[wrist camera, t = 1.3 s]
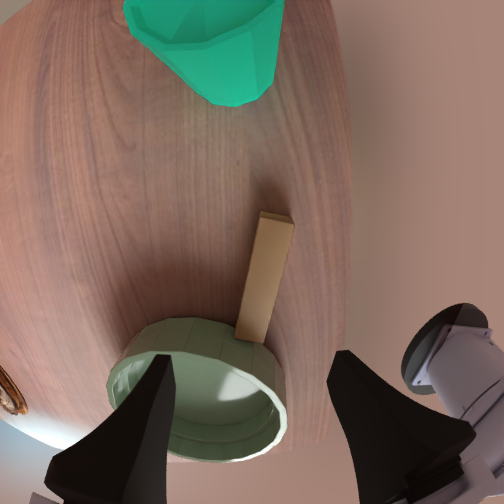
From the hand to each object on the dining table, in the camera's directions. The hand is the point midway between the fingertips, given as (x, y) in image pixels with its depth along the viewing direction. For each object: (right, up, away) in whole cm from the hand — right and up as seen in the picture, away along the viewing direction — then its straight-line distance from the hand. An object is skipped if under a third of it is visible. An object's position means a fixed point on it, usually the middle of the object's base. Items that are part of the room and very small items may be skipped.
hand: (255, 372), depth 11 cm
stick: (+1, +4, +9) cm, 10 cm away
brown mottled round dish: (-46, -19, +19) cm, 53 cm away
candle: (-1, +18, +5) cm, 18 cm away
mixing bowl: (-5, -7, +13) cm, 15 cm away
